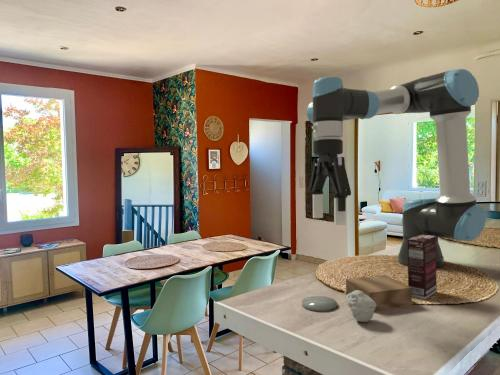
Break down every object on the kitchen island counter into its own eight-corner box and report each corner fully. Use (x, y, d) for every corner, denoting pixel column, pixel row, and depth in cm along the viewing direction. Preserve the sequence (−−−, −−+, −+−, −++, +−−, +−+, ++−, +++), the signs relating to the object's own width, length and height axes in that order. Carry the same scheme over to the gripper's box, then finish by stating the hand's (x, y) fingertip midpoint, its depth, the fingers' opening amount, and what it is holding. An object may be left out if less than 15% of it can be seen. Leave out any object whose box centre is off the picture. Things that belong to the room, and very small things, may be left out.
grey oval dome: (327, 297, 105) (327, 294, 105) (343, 308, 96) (343, 305, 96) (296, 301, 103) (296, 298, 103) (310, 313, 94) (310, 310, 94)
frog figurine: (351, 313, 93) (350, 285, 93) (380, 319, 89) (380, 290, 89) (342, 322, 88) (341, 292, 88) (372, 329, 84) (372, 298, 84)
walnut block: (384, 292, 109) (384, 274, 109) (411, 306, 97) (411, 287, 97) (346, 296, 106) (345, 279, 106) (369, 312, 94) (369, 292, 94)
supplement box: (419, 288, 110) (419, 234, 109) (437, 292, 106) (437, 235, 105) (406, 296, 104) (406, 238, 103) (425, 300, 100) (424, 240, 99)
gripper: (297, 142, 110) (298, 216, 111) (335, 134, 85) (336, 228, 86) (321, 142, 111) (322, 214, 112) (366, 134, 87) (366, 227, 88)
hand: (328, 221), depth 99 cm, fingers open, 13 cm apart
